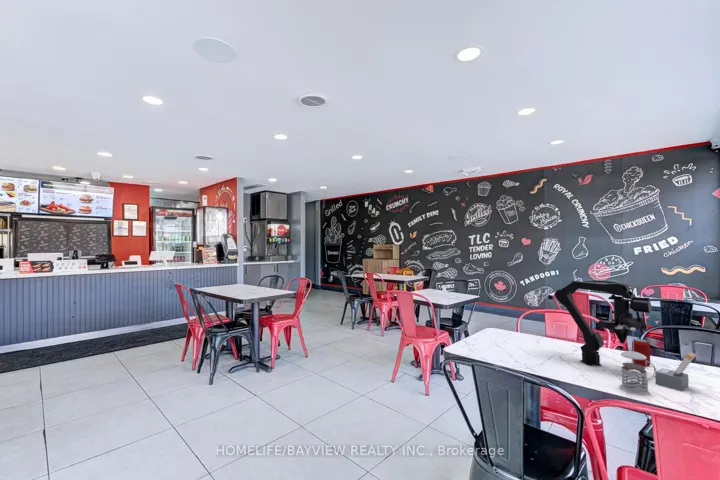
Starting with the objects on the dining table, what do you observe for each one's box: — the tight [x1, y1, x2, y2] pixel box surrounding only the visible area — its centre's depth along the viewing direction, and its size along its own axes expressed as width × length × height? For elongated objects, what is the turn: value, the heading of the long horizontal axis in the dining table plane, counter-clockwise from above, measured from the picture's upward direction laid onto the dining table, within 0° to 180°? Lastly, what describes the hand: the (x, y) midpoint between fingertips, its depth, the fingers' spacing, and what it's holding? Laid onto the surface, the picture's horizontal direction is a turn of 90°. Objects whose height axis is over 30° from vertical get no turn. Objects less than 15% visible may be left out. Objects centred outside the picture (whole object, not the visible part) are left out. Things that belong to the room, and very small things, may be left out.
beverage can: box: [631, 338, 651, 367], centre depth 159 cm, size 7×7×12 cm
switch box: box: [654, 367, 690, 392], centre depth 134 cm, size 8×9×6 cm
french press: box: [618, 328, 657, 396], centre depth 129 cm, size 10×12×25 cm
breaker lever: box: [674, 351, 697, 374], centre depth 131 cm, size 2×5×10 cm, turn 121°
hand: (622, 343), depth 150 cm, fingers closed
